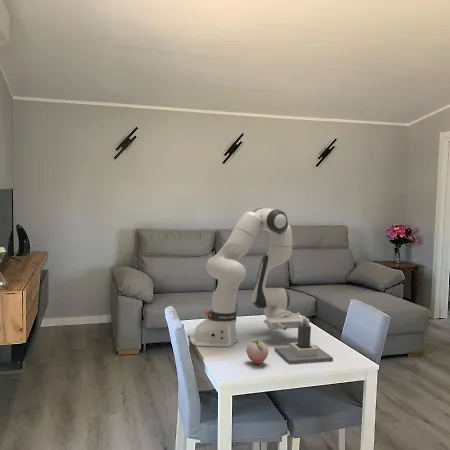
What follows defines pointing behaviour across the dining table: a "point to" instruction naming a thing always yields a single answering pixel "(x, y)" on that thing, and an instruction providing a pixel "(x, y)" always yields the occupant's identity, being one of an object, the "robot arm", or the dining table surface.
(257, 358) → the decorative fruit
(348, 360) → the dining table surface
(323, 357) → the socket
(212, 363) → the dining table surface
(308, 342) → the plug
